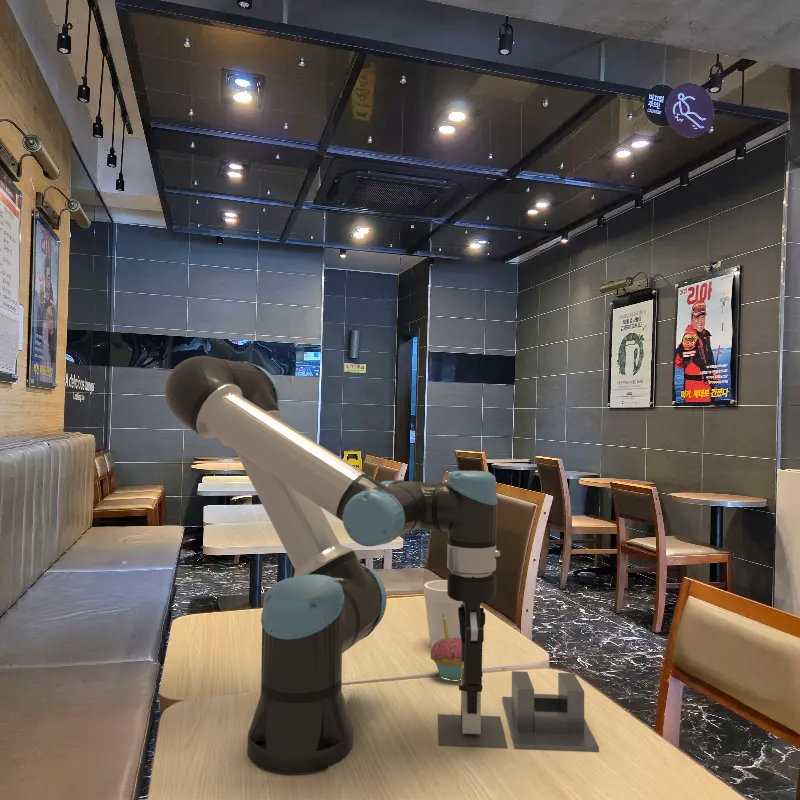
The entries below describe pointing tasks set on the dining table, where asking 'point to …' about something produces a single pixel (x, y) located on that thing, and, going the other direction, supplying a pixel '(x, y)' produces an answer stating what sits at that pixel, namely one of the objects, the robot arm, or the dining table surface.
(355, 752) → the dining table surface
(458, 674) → the cupcake
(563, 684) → the bracket
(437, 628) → the foam cup
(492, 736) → the mat
